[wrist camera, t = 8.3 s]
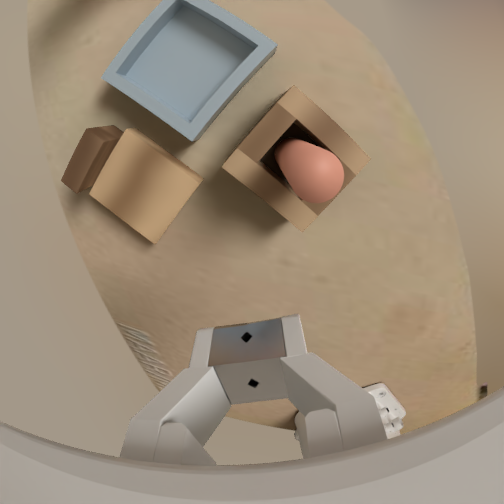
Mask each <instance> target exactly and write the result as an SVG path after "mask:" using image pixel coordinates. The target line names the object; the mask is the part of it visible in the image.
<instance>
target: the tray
mask: <svg viewBox="0 0 504 504" xmlns="http://www.w3.org/2000/svg"><path fill="white" fill-rule="evenodd" d="M276 48H277V44H276V43H275V42H273V41H272V40H271V39H269V38H268V37H266V36H265V35H264V34H262V33H261V32H259V31H258V30H256V29H255V28H253V27H252V26H250V25H249V24H247V23H246V22H244V21H243V20H241V19H239V18H238V17H236V16H235V15H233V14H231V13H230V12H228V11H226V10H225V9H223V8H221V7H220V6H218V5H216V4H214V3H212V2H211V1H209V0H163V1H162V2H161V3H160V4H159V5H158V6H157V7H156V8H155V9H154V10H153V11H152V12H151V13H150V15H149V16H148V17H147V18H146V19H145V20H144V21H143V22H142V24H141V25H140V26H139V27H138V28H137V30H136V31H135V32H134V33H133V34H132V36H131V37H130V38H129V39H128V41H127V42H126V43H125V45H124V46H123V47H122V49H121V50H120V51H119V53H118V54H117V55H116V57H115V58H114V59H113V61H112V62H111V64H110V65H109V66H108V68H107V69H106V71H105V72H104V74H103V75H102V77H101V78H102V79H103V80H105V81H106V82H108V83H109V84H111V85H112V86H114V87H115V88H117V89H118V90H120V91H121V92H123V93H124V94H126V95H127V96H129V97H130V98H132V99H133V100H135V101H136V102H138V103H139V104H140V105H142V106H143V107H145V108H146V109H148V110H149V111H150V112H152V113H153V114H155V115H156V116H157V117H159V118H160V119H162V120H163V121H164V122H166V123H167V124H169V125H170V126H171V127H173V128H174V129H176V130H177V131H178V132H180V133H181V134H182V135H184V136H185V137H186V138H188V139H189V140H190V141H195V140H198V139H199V138H200V137H201V136H202V135H203V133H204V132H205V131H206V130H207V128H208V127H209V126H210V125H211V123H212V122H213V121H214V120H215V119H216V117H217V116H218V115H219V114H220V113H221V111H222V110H223V109H224V108H225V107H226V105H227V104H228V103H229V102H230V101H231V100H232V99H233V97H234V96H235V95H236V94H237V93H238V92H239V91H240V89H241V88H242V87H243V86H244V85H245V84H246V83H247V82H248V81H249V80H250V79H251V77H252V76H253V75H254V74H255V73H256V72H257V71H258V70H259V69H260V68H261V67H262V66H263V65H264V64H265V63H266V62H267V61H268V60H269V59H270V58H271V57H272V56H273V55H274V54H275V51H276Z"/></svg>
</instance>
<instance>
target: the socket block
mask: <svg viewBox="0 0 504 504" xmlns="http://www.w3.org/2000/svg"><path fill="white" fill-rule="evenodd" d="M292 123H294V124H296V125H297V126H298V127H299V128H300V129H301V130H302V131H303V132H305V133H306V134H307V135H308V136H309V137H310V138H311V139H312V140H314V141H315V142H316V143H317V144H318V145H319V146H320V147H321V148H323V149H325V150H327V151H330V152H331V153H333V154H334V155H335V156H336V157H337V158H338V159H339V160H340V162H341V164H342V166H343V170H344V181H343V185H342V187H341V189H340V191H339V192H338V193H337V194H336V195H335V196H334V197H333V198H332V199H330V200H328V201H326V202H322V203H310V202H307V201H305V200H303V199H301V198H300V197H299V196H297V195H296V193H295V192H294V191H293V189H292V187H291V186H290V185H289V184H288V183H286V182H285V181H284V180H283V179H282V178H281V177H279V176H278V175H277V174H276V173H275V172H273V171H272V170H271V169H270V168H269V167H267V166H266V165H265V164H264V163H263V162H261V161H260V159H261V158H262V157H263V156H264V155H265V153H266V152H267V151H268V150H269V149H270V148H271V147H272V145H273V144H274V143H275V142H276V141H277V140H278V139H279V138H280V137H281V135H282V134H283V133H284V132H285V131H286V130H287V129H288V128H289V127H290V126H291V124H292ZM370 160H371V158H370V157H369V156H368V155H367V154H366V153H365V152H364V151H363V150H362V149H361V148H360V147H359V145H358V144H357V143H356V142H355V141H354V140H353V139H352V138H351V137H350V136H349V135H348V134H347V133H346V132H345V131H344V130H343V129H342V128H341V127H340V126H339V125H338V124H337V123H336V122H335V121H333V120H332V119H331V118H330V117H329V116H328V115H327V114H326V113H325V112H324V111H323V110H322V109H321V108H319V107H318V106H317V105H316V104H315V103H314V102H313V101H312V100H311V99H309V98H308V97H307V96H306V95H305V94H304V93H302V92H301V91H300V90H299V89H298V88H297V87H295V86H294V85H293V86H292V87H291V88H290V89H288V90H287V91H286V92H285V93H284V94H283V96H282V97H281V98H280V99H279V100H278V101H277V102H276V103H275V104H274V105H273V106H272V107H271V109H270V110H269V111H268V112H267V113H266V114H265V115H264V116H263V117H262V119H261V120H260V121H259V122H258V123H257V124H256V125H255V126H254V128H253V129H252V130H251V131H250V132H249V133H248V135H247V136H246V137H245V138H244V139H243V140H242V142H241V143H240V144H239V145H238V146H237V147H236V149H235V150H234V151H233V152H232V153H231V155H230V156H229V157H228V158H227V159H226V161H225V162H224V164H223V165H222V168H223V169H225V170H226V171H227V172H229V173H230V174H231V175H232V176H234V177H235V178H236V179H237V180H239V181H240V182H241V183H243V184H244V185H245V186H246V187H248V188H249V189H250V190H251V191H253V192H254V193H255V194H256V195H258V196H259V197H260V198H261V199H263V200H264V201H265V202H266V203H267V204H269V205H270V206H271V207H272V208H274V209H275V210H276V211H277V212H278V213H280V214H281V215H282V216H283V217H285V218H286V219H287V220H288V221H289V222H291V223H292V224H293V225H294V226H295V227H297V228H298V229H299V230H300V231H301V232H303V231H304V230H305V229H306V228H307V227H308V226H309V225H310V224H311V223H312V222H313V221H314V220H315V219H316V218H317V217H318V216H319V214H320V213H321V212H322V211H323V210H324V209H325V208H326V207H327V206H328V205H329V204H330V203H331V202H332V201H333V200H334V199H335V197H336V196H337V195H338V194H339V193H340V192H341V191H342V190H343V189H344V188H345V187H346V186H347V185H348V184H349V182H350V181H351V180H352V179H353V178H354V177H355V176H356V175H357V174H358V173H359V172H360V171H361V170H362V168H363V167H364V166H365V165H366V164H367V163H368V162H369V161H370Z"/></svg>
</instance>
